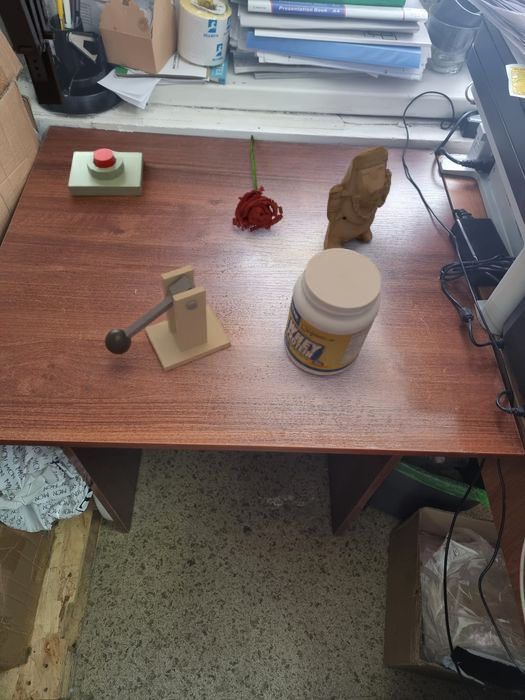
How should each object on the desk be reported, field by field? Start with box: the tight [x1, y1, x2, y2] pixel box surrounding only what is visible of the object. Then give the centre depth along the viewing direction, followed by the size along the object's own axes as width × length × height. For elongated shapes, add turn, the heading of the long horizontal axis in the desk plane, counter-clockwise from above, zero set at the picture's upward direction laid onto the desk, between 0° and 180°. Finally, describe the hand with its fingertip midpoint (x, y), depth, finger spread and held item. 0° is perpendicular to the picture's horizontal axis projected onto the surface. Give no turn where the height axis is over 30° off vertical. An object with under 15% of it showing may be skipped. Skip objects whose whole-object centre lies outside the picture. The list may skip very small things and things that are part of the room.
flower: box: [231, 134, 284, 233], centre depth 99 cm, size 9×10×30 cm
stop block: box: [67, 149, 144, 197], centre depth 96 cm, size 13×10×4 cm
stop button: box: [93, 147, 115, 168], centre depth 94 cm, size 4×4×2 cm
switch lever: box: [104, 276, 197, 355], centre depth 70 cm, size 15×4×4 cm, turn 118°
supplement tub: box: [283, 247, 382, 376], centre depth 74 cm, size 12×12×17 cm
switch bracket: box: [144, 264, 232, 373], centre depth 74 cm, size 11×8×14 cm
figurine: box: [323, 145, 393, 250], centre depth 85 cm, size 13×7×20 cm, turn 118°
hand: (51, 100), depth 62 cm, fingers closed
